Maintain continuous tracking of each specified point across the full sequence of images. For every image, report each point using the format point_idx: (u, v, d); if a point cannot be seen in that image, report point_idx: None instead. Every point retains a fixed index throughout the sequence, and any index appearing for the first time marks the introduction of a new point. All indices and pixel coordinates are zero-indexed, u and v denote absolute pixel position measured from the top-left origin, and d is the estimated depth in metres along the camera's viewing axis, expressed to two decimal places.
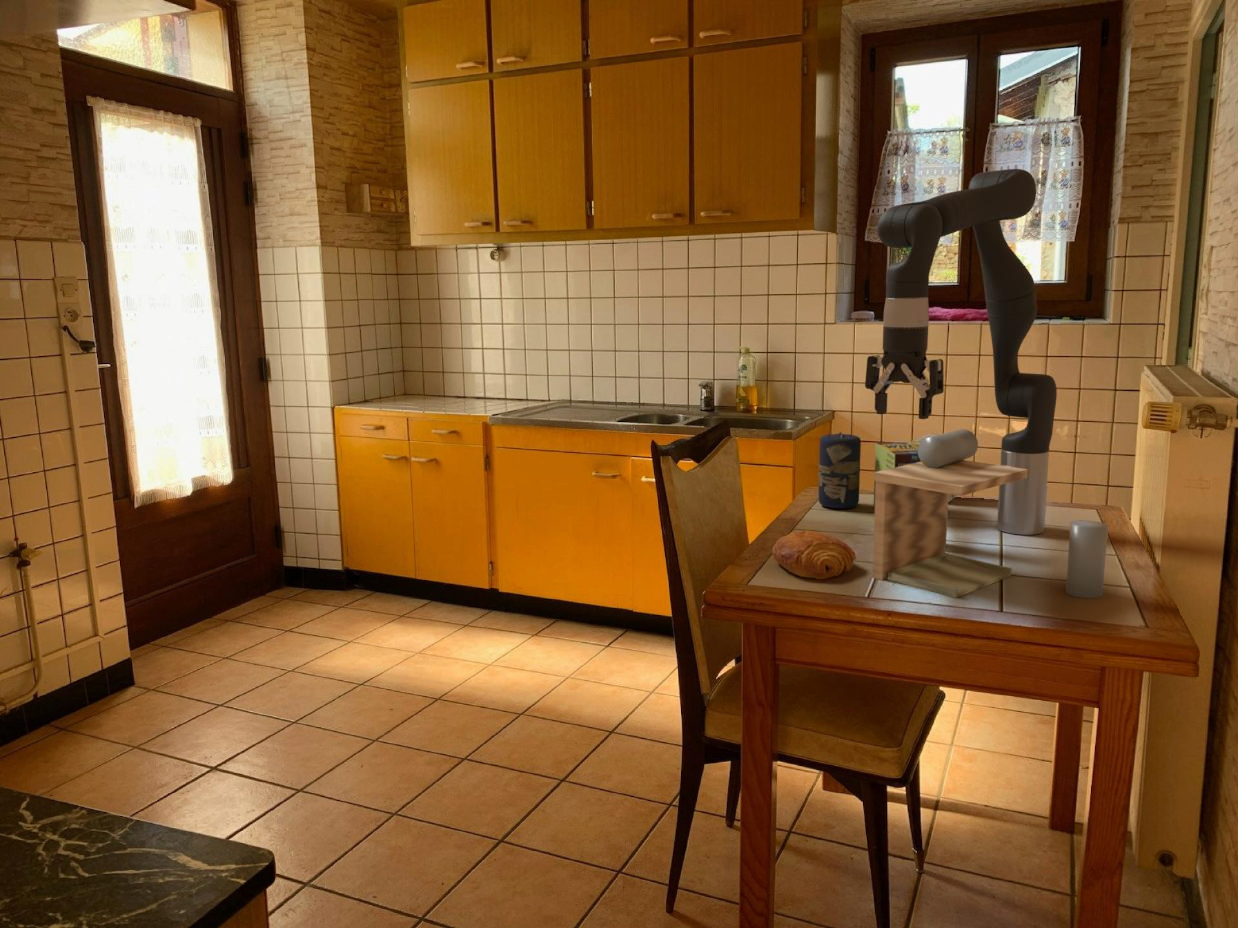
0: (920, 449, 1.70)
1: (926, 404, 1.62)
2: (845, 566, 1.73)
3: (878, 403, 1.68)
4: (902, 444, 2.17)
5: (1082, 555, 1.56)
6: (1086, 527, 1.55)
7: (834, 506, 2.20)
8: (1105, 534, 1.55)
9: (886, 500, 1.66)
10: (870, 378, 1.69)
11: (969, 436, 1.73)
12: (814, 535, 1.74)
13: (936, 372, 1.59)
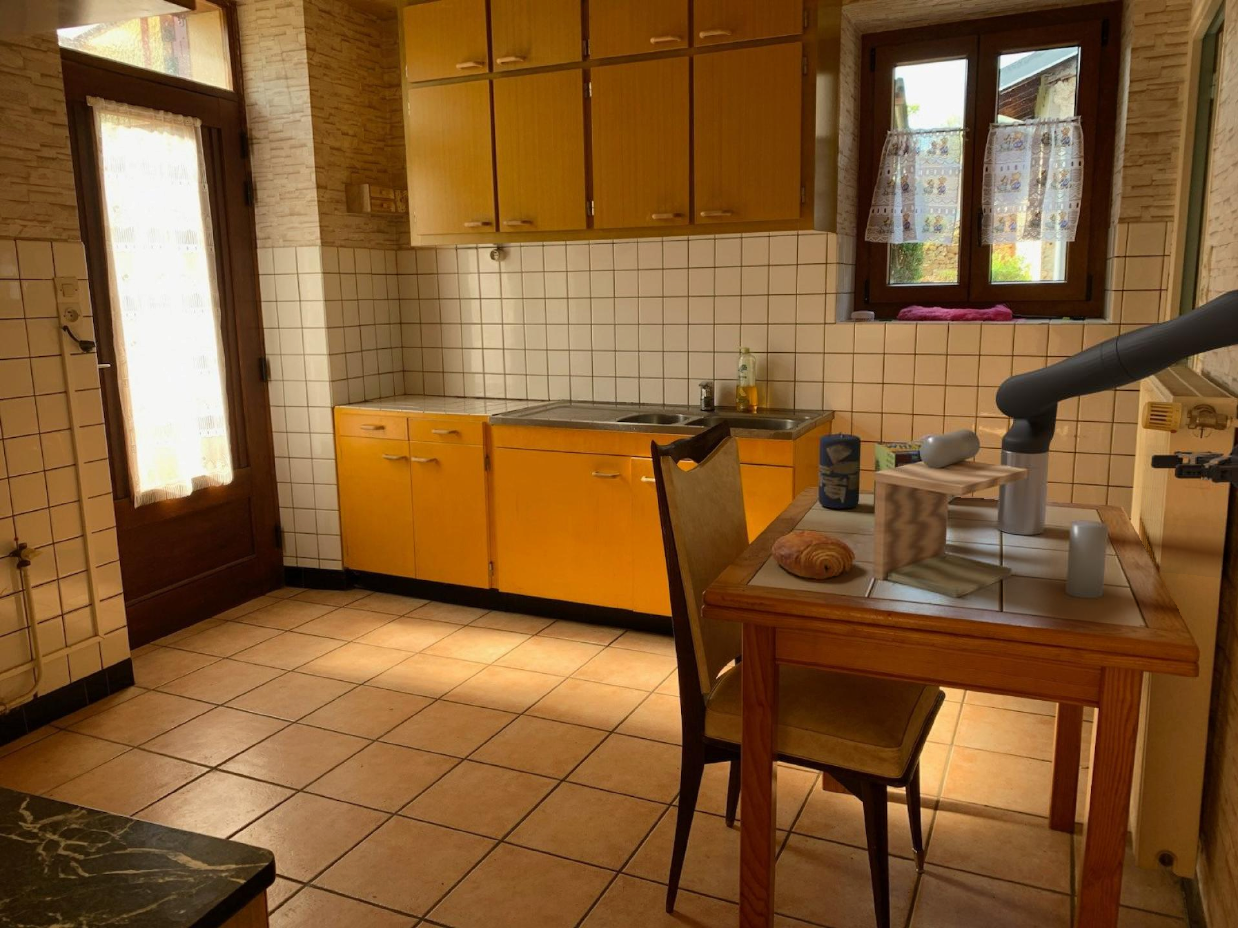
0: (922, 448, 1.69)
1: None
2: (844, 566, 1.73)
3: None
4: (902, 444, 2.17)
5: (1082, 555, 1.56)
6: (1086, 527, 1.55)
7: (834, 506, 2.20)
8: (1105, 534, 1.55)
9: (886, 500, 1.66)
10: None
11: (972, 437, 1.73)
12: (813, 535, 1.74)
13: None
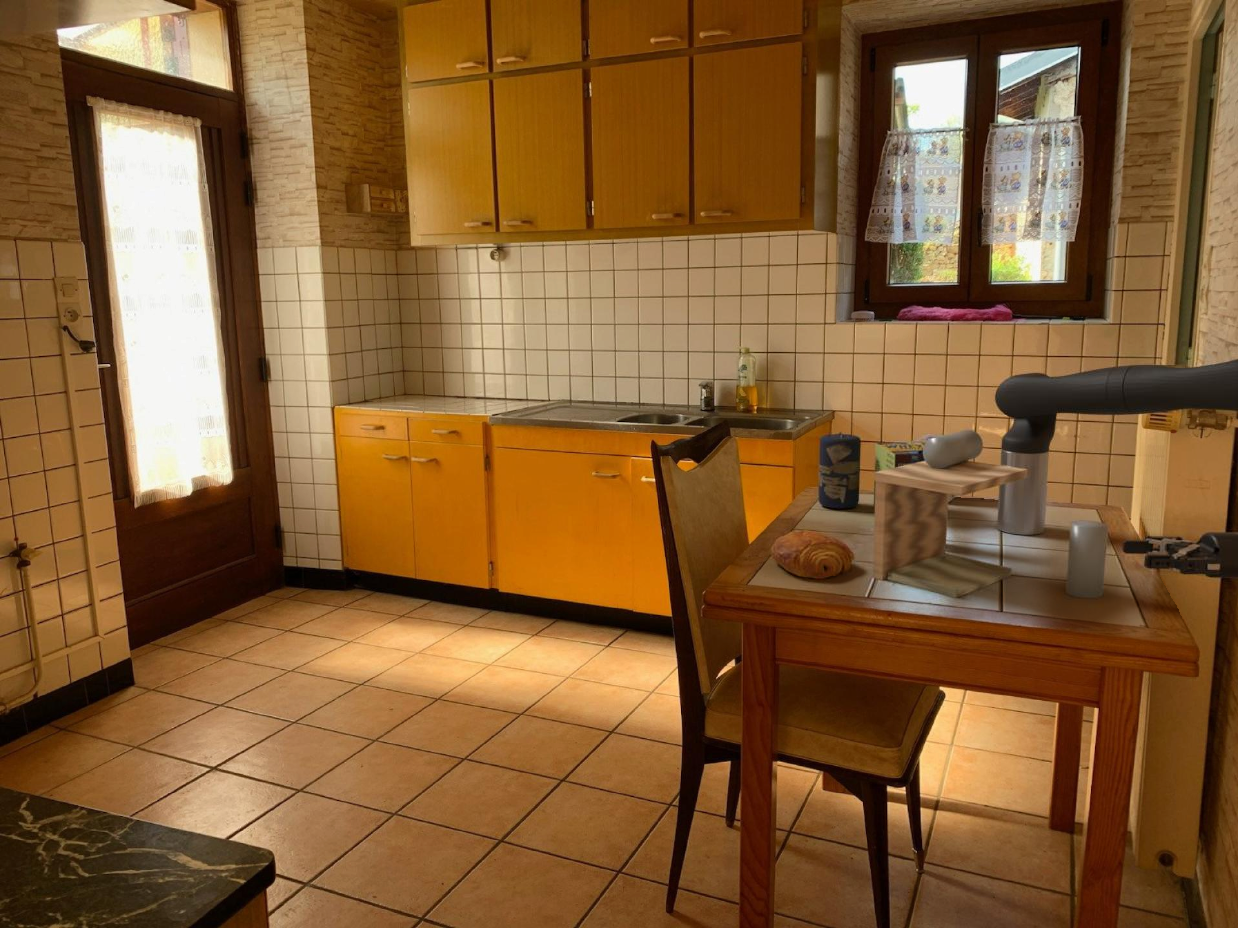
0: (926, 446, 1.69)
1: None
2: (843, 566, 1.73)
3: None
4: (902, 444, 2.17)
5: (1082, 555, 1.56)
6: (1086, 527, 1.55)
7: (834, 506, 2.20)
8: (1105, 534, 1.55)
9: (886, 500, 1.66)
10: None
11: (976, 441, 1.72)
12: (812, 535, 1.74)
13: None
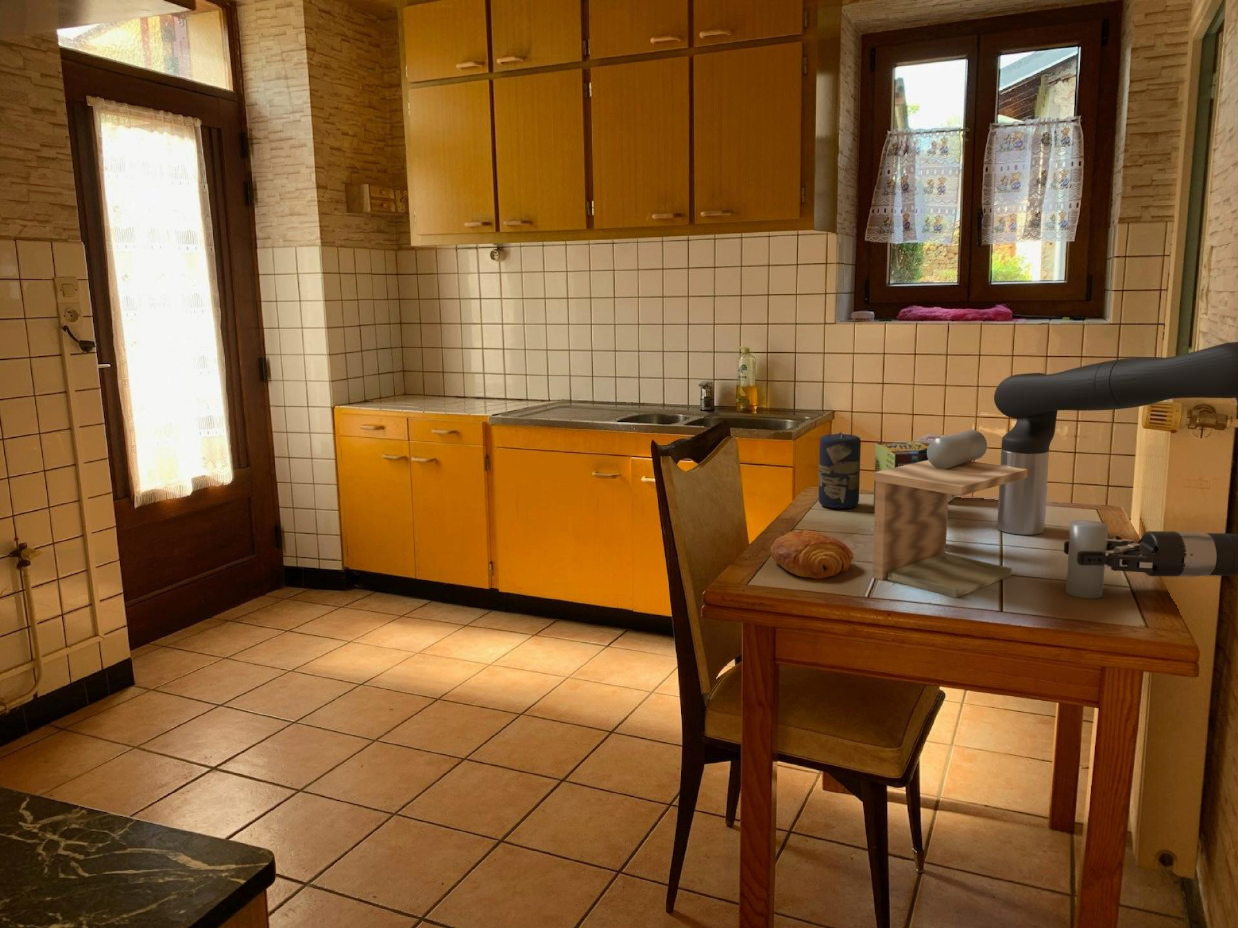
0: (933, 443, 1.68)
1: None
2: (843, 566, 1.73)
3: (1090, 564, 1.55)
4: (902, 444, 2.17)
5: None
6: (1086, 527, 1.55)
7: (834, 506, 2.20)
8: (1105, 534, 1.55)
9: (886, 500, 1.66)
10: None
11: (981, 445, 1.71)
12: (812, 535, 1.74)
13: None
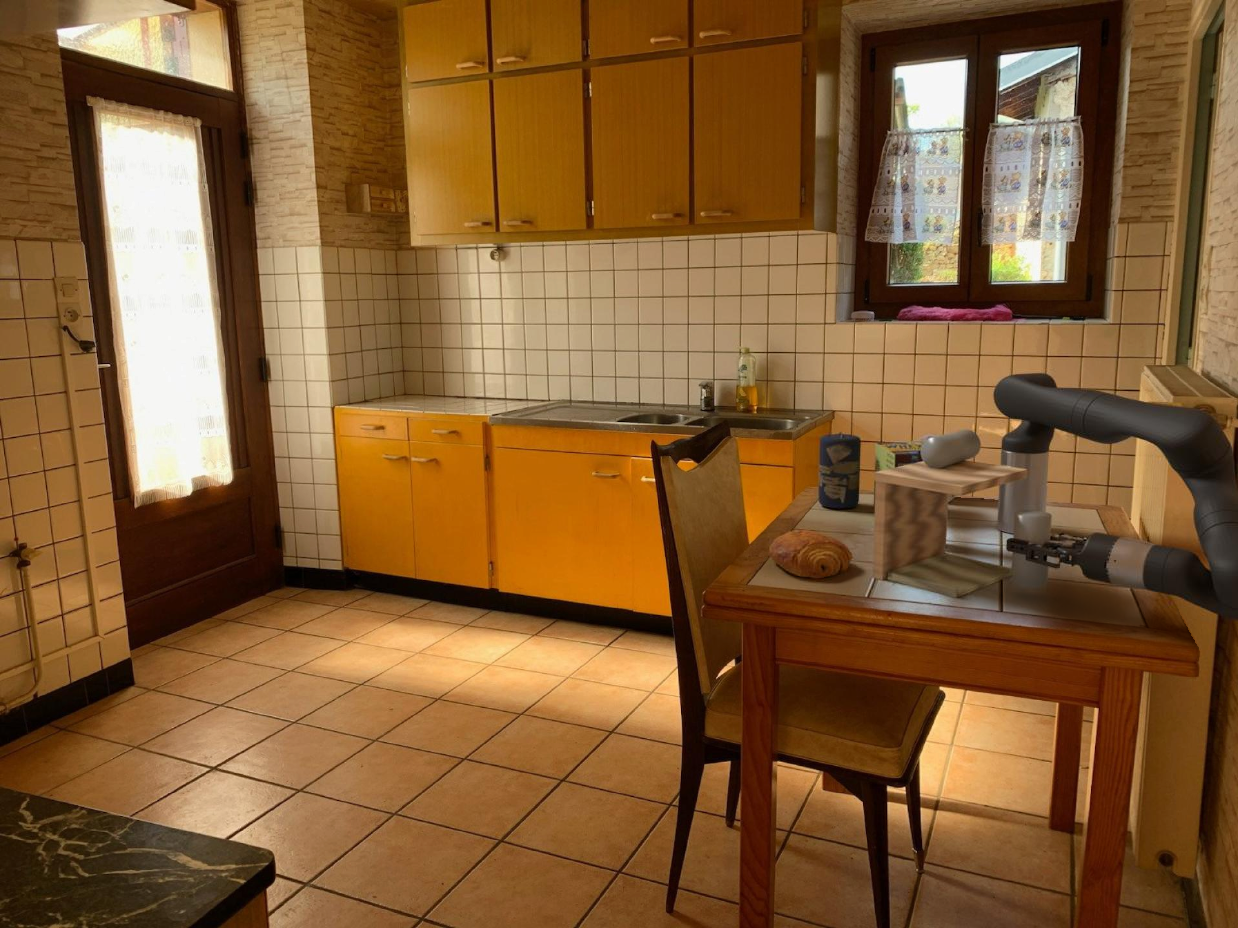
0: (923, 447, 1.69)
1: None
2: (841, 565, 1.73)
3: (1018, 552, 1.54)
4: (902, 444, 2.17)
5: None
6: (1020, 514, 1.55)
7: (834, 506, 2.20)
8: (1037, 525, 1.52)
9: (886, 500, 1.66)
10: None
11: (973, 438, 1.72)
12: (811, 534, 1.74)
13: None
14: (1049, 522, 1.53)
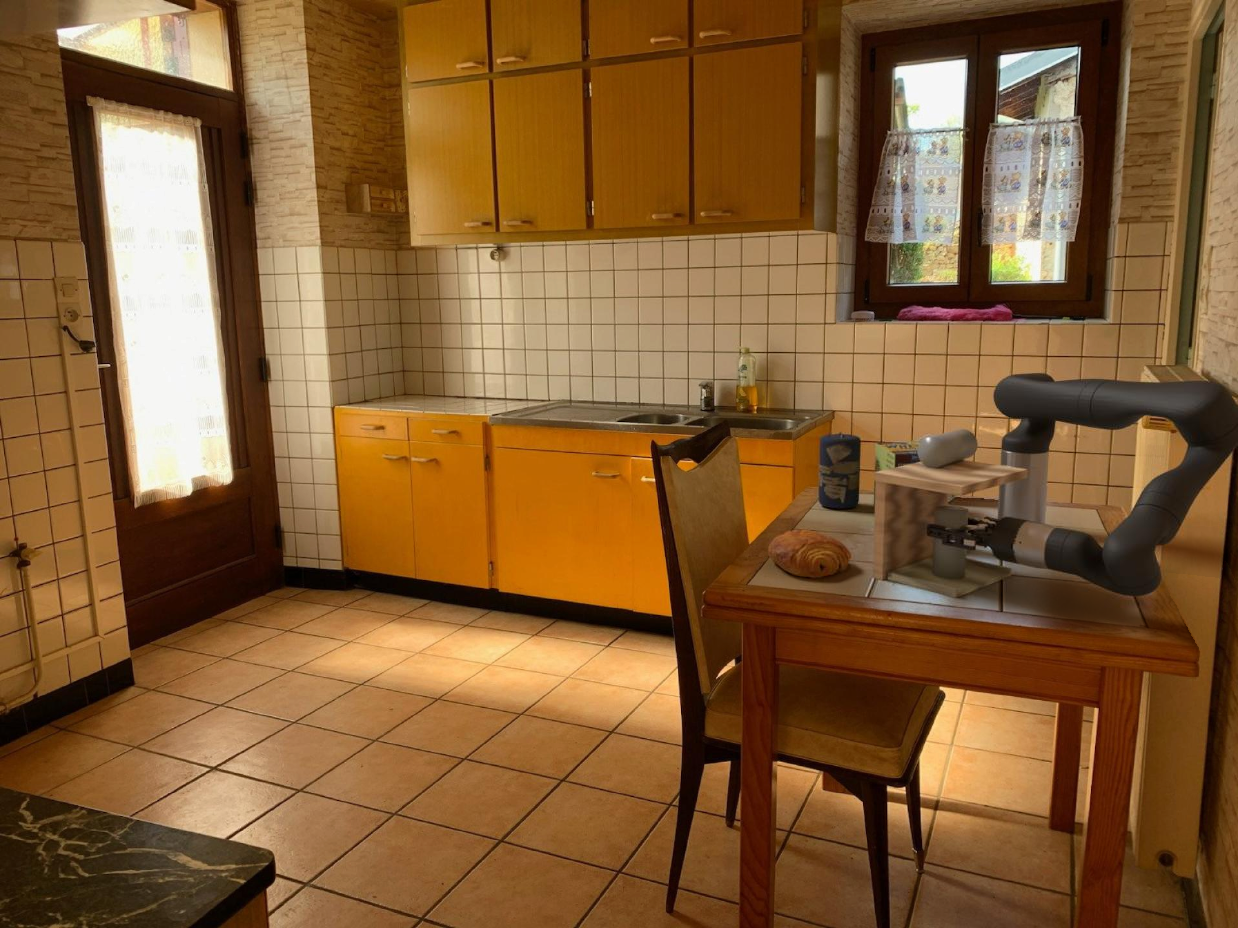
0: (920, 449, 1.70)
1: None
2: (840, 565, 1.73)
3: (937, 537, 1.65)
4: (902, 444, 2.17)
5: None
6: (939, 509, 1.66)
7: (834, 506, 2.20)
8: (954, 519, 1.64)
9: (886, 500, 1.66)
10: None
11: (968, 435, 1.73)
12: (809, 534, 1.74)
13: None
14: (965, 516, 1.65)
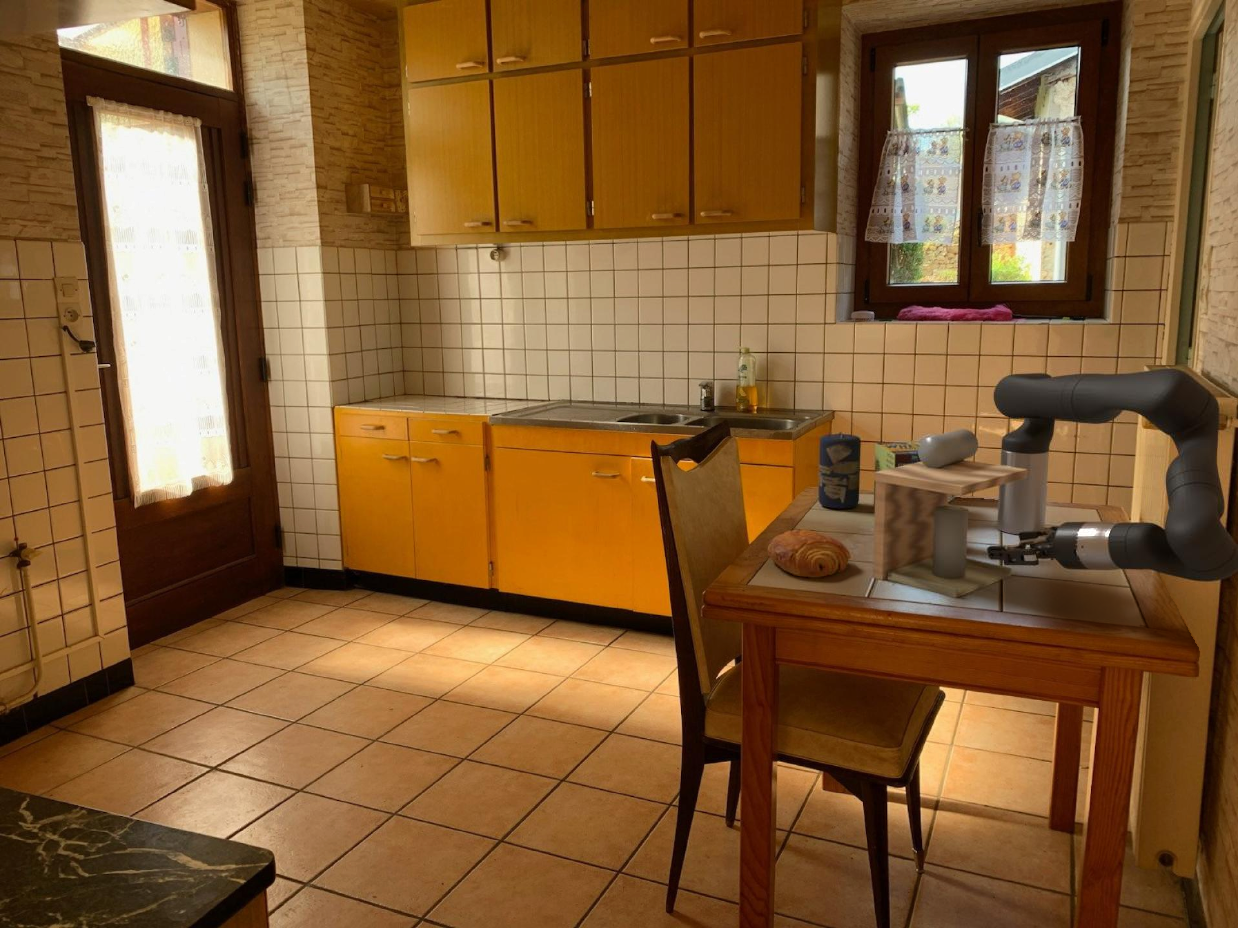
0: (920, 449, 1.70)
1: None
2: (839, 565, 1.73)
3: (1000, 559, 1.56)
4: (902, 444, 2.17)
5: (935, 535, 1.67)
6: (939, 510, 1.66)
7: (834, 506, 2.20)
8: (954, 519, 1.64)
9: (886, 500, 1.66)
10: None
11: (969, 436, 1.73)
12: (809, 534, 1.74)
13: None
14: (965, 517, 1.65)
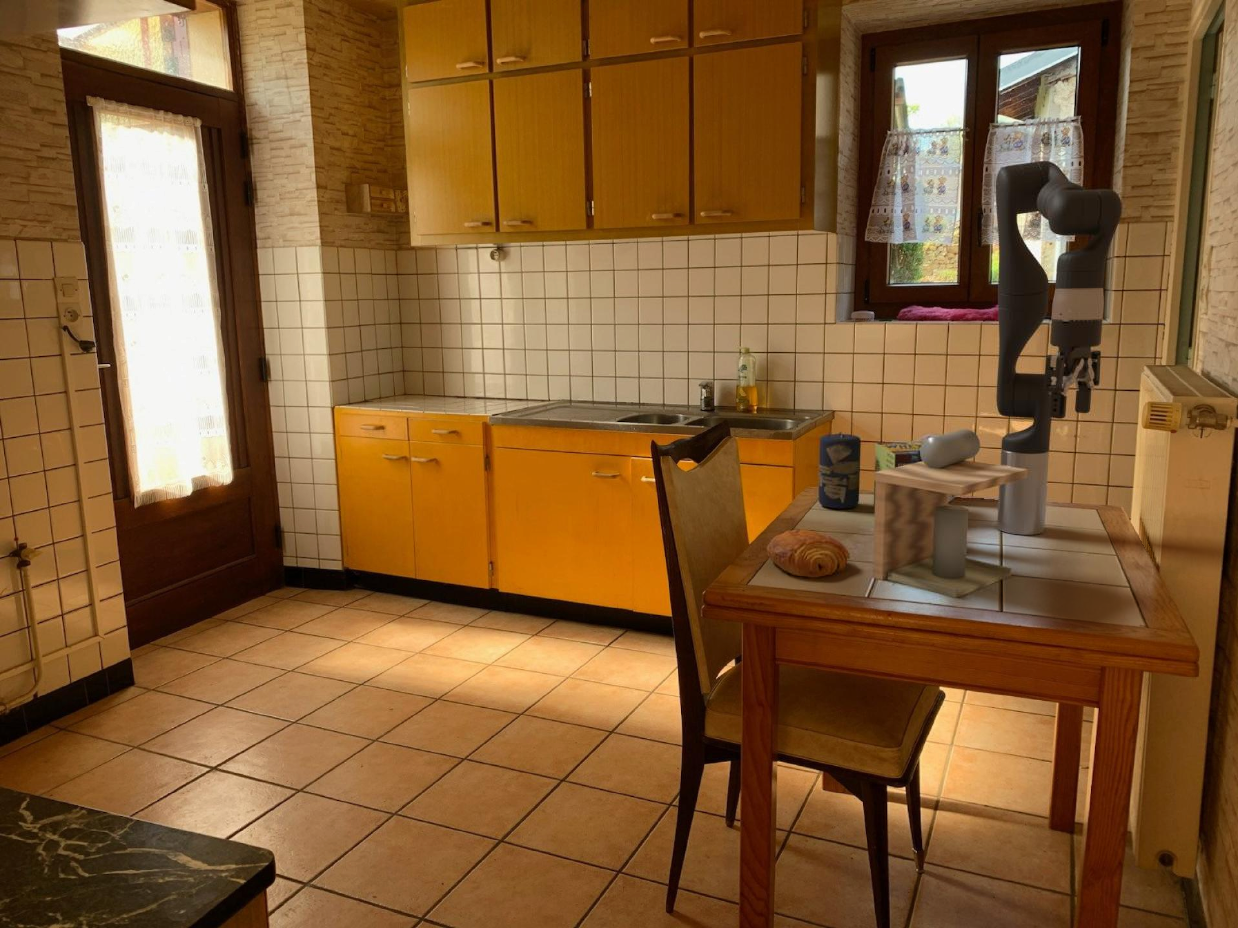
0: (922, 447, 1.69)
1: None
2: (839, 565, 1.73)
3: (1065, 406, 1.52)
4: (902, 444, 2.17)
5: (935, 535, 1.67)
6: (939, 510, 1.66)
7: (834, 506, 2.20)
8: (954, 519, 1.64)
9: (886, 500, 1.66)
10: (1062, 380, 1.50)
11: (972, 438, 1.73)
12: (808, 534, 1.75)
13: None
14: (966, 517, 1.65)
